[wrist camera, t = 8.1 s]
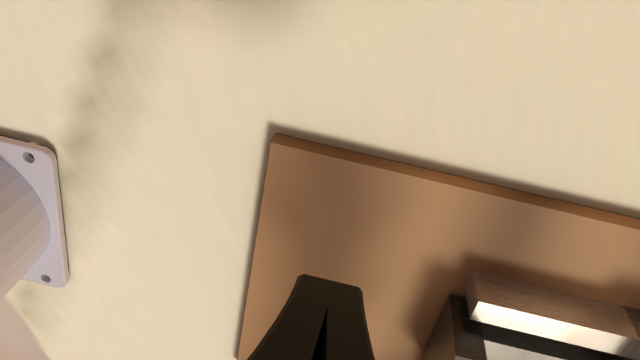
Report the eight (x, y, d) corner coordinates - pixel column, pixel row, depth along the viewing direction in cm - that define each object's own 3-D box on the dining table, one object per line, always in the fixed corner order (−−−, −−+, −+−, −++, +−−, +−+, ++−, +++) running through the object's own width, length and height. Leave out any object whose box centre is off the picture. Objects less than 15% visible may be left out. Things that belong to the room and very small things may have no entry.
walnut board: (239, 362, 27) (235, 374, 27) (275, 133, 20) (270, 142, 19) (570, 444, 27) (575, 458, 26) (735, 242, 19) (747, 255, 19)
